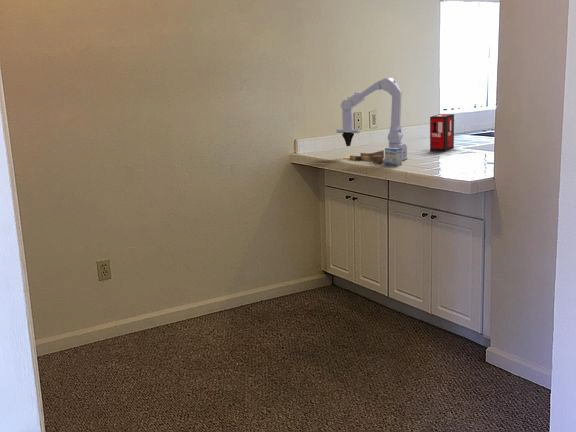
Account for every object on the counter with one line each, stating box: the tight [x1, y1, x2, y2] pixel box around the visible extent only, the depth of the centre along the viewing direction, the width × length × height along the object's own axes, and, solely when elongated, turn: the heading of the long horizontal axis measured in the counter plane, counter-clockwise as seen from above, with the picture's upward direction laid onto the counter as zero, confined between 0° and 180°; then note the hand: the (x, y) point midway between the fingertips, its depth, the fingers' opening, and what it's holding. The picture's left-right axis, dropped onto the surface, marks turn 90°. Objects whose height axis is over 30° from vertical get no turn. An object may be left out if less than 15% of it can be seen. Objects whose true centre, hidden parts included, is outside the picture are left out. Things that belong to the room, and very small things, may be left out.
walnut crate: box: [372, 155, 384, 165], centre depth 340 cm, size 4×4×4 cm
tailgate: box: [342, 155, 354, 160], centre depth 358 cm, size 1×10×6 cm
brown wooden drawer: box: [349, 149, 385, 162], centre depth 352 cm, size 15×14×5 cm
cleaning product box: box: [429, 113, 455, 153], centre depth 377 cm, size 16×9×20 cm, turn 148°
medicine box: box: [384, 147, 403, 167], centre depth 332 cm, size 8×4×9 cm, turn 44°
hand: (348, 146), depth 359 cm, fingers closed
